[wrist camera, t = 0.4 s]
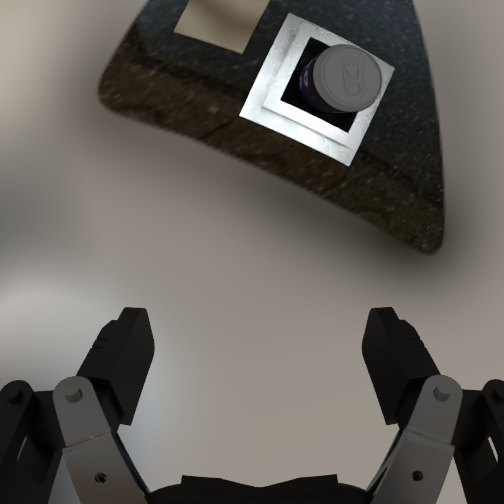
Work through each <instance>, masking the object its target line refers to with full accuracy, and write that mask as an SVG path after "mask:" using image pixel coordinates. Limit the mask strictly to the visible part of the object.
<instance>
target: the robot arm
mask: <svg viewBox="0 0 504 504" xmlns="http://www.w3.org/2000/svg"><path fill="white" fill-rule="evenodd" d="M154 348H155V347H154V339H153V335H152V330H151V326H150V322H149V317H148V313H147V310H146V309H145V308H131V307H125V308H124V309H123V311H122V313H121V314H120V316H119V318H118V320H111V321H110V322H109V323H108V324H107V325H105V326H104V327H103V328H102V330H101V331H100V333H99V335H98V336H97V340H95V342H94V343H93V346H92V348H91V349H90V350H89V352H88V354H87V356H86V358H85V360H84V361H83V363H82V365H81V367H80V369H79V371H78V373H77V375H76V376H73V377H68V378H66V379H64V380H62V381H61V382H60V383H58V385H57V386H56V387H55V389H54V390H52V391H38V392H34V391H33V390H32V388H31V386H30V385H29V384H28V383H27V382H25V381H22V380H16V381H12V382H10V383H8V384H7V385H5V386H4V387H3V389H2V390H1V391H0V504H48V501H49V497H50V493H51V490H52V486H53V483H54V479H55V476H56V473H57V470H58V467H59V463H60V460H61V457H62V454H63V456H64V459H65V462H66V465H67V468H68V471H69V474H70V476H71V479H72V482H73V485H74V487H75V490H76V492H77V495H78V497H79V500H80V502H81V504H436V502H437V499H438V497H439V494H440V491H441V489H442V486H443V483H444V480H445V478H446V475H447V472H448V469H449V466H450V463H451V460H452V457H454V460H455V463H456V466H457V469H458V473H459V476H460V480H461V483H462V486H463V490H464V494H465V497H466V501H467V504H504V381H502V380H498V379H494V380H490V381H488V382H487V383H486V384H485V386H484V387H483V389H482V390H481V391H479V390H464V389H461V387H460V385H459V384H458V383H457V382H456V381H455V380H454V379H452V378H450V377H448V376H444V375H441V374H440V372H439V370H438V368H437V367H436V365H435V363H434V361H433V359H432V358H431V356H430V354H429V352H428V350H427V349H426V347H424V343H423V342H422V340H420V337H419V335H418V333H417V332H416V330H415V328H414V327H413V326H411V325H410V324H409V323H408V322H406V321H405V320H399V318H398V316H397V315H396V313H395V311H394V309H393V308H392V307H384V308H372V309H371V310H370V312H369V316H368V320H367V324H366V329H365V333H364V337H363V341H362V354H363V358H364V361H365V364H366V366H367V369H368V372H369V375H370V378H371V380H372V383H373V386H374V389H375V392H376V395H377V398H378V401H379V404H380V407H381V410H382V413H383V416H384V419H385V422H386V425H391V424H397V423H398V426H399V431H398V432H397V434H396V436H395V439H394V441H393V443H392V445H391V447H390V449H389V451H388V453H387V455H386V457H385V459H384V461H383V463H382V464H381V466H380V468H379V470H378V472H377V473H376V475H375V477H374V478H373V480H372V482H371V483H370V484H369V486H368V488H367V489H366V490H364V489H361V488H359V487H355V486H352V485H348V484H343V483H338V480H337V474H333V475H325V476H314V477H301V478H296V479H293V480H289V481H286V482H282V483H278V484H274V485H270V486H265V487H254V486H249V485H245V484H240V483H236V482H232V481H228V480H225V479H221V478H208V477H196V476H185V475H182V479H181V484H176V485H171V486H167V487H164V488H160V489H158V490H155V491H153V492H150V490H149V489H148V487H147V486H146V484H145V483H144V481H143V479H142V478H141V476H140V475H139V473H138V471H137V469H136V468H135V466H134V464H133V462H132V460H131V458H130V456H129V454H128V453H127V451H126V449H125V447H124V445H123V443H122V441H121V439H120V437H119V435H118V433H117V431H118V428H119V425H120V424H124V425H130V426H131V423H132V420H133V417H134V414H135V411H136V407H137V404H138V401H139V398H140V395H141V392H142V389H143V386H144V383H145V380H146V377H147V374H148V371H149V368H150V365H151V362H152V359H153V356H154ZM489 437H491V439H492V442H493V444H494V447H495V449H496V452H497V455H498V462H497V461H496V458H495V456H494V453H493V450H492V448H491V445H490V443H489V440H488V438H489ZM24 438H26V442H25V445H24V447H23V449H22V452H21V455H20V457H19V459H18V462H17V456H18V453H19V451H20V448H21V446H22V443H23V441H24Z"/></svg>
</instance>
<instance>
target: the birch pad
mask: <svg viewBox="0 0 504 504" xmlns="http://www.w3.org/2000/svg"><path fill="white" fill-rule="evenodd" d="M269 2H270V0H190V1H189V3H188V5H187V6H186V8H185V10H184V12H183V14H182V16H181V18H180V20H179V22H178V24H177V26H176V28H175V30H174V33H177V34H181V35H184V36H188V37H191V38H194V39H198V40H201V41H204V42H207V43H210V44H213V45H216V46H219V47H222V48H225V49H228V50H231V51H234V52H236V53H239V54H243V52H244V50H245V48H246V46H247V44H248V42H249V40H250V38H251V36H252V34H253V32H254V30H255V28H256V26H257V24H258V22H259V21H260V19H261V17H262V15H263V13H264V11H265V9H266V7H267V5H268V4H269Z"/></svg>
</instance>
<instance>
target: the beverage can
mask: <svg viewBox="0 0 504 504" xmlns="http://www.w3.org/2000/svg"><path fill="white" fill-rule="evenodd" d="M382 85H383V76H382V71H381V68H380V66H379V64H378V63H377V61H376V60H375V59H374V58H373V56H372V55H370V54H369V53H368V52H366V51H365V50H363V49H361V48H358V47H355V46H352V45H347V44H338V45H333V46H330V47H328V48H326V49H325V50H323V51H322V52H321V53H320V54H318V55H317V56H316V57H315V58H314V59H313V60H311V61H310V62H309V63H308V64H307V65H306V66H305V67H303V68H302V69H301V70H300V72H299V73H298V75H297V77H296V79H295V92H296V95H297V98H298V99H299V101H300V102H301V103H302V104H303V105H304V106H305V107H306V108H308V109H309V110H311V111H314V112H318V113H355V112H360V111H363V110H365V109H367V108H368V107H370V106H371V105H372V104H373V103H374V102H375V101H376V99H377V98H378V96H379V94H380V92H381V89H382Z"/></svg>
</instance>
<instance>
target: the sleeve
mask: <svg viewBox="0 0 504 504" xmlns="http://www.w3.org/2000/svg"><path fill="white" fill-rule="evenodd" d="M338 44H347V45H352V46H355V47H358V46H357V45H355V44H353V43H351V42H349V41H347V40H345V39H344V38H342V37H340V36H338V35H336V34H334V33H332V32H330V31H328V30H326V29H324V28H322V27H319V26H317V25H315V24H313V23H311V22H309V21H306V20H304V19H302V18H300V17H297V16H295V15H293V14H290V13H289V14H288V16H287V18H286V20H285V22H284V23H283V25H282V27H281V29H280V31H279V33H278V35H277V37H276V39H275V41H274V43H273V45H272V47H271V49H270V51H269V53H268V55H267V57H266V59H265V62H264V64H263V66H262V68H261V70H260V72H259V74H258V76H257V78H256V80H255V83H254V85H253V87H252V89H251V91H250V93H249V96H248V98H247V100H246V102H245V104H244V106H243V109H242V111H241V113H240V115H239V116H242V117H244V118H246V119H249V120H251V121H254V122H256V123H258V124H261V125H263V126H266V127H268V128H270V129H272V130H275V131H277V132H279V133H281V134H284V135H286V136H288V137H290V138H293V139H295V140H297V141H299V142H301V143H303V144H305V145H307V146H310V147H312V148H314V149H316V150H318V151H320V152H322V153H324V154H326V155H328V156H330V157H332V158H334V159H336V160H338V161H340V162H342V163H344V164H346V165H348V166H349V165H350V163H351V161H352V159H353V157H354V155H355V153H356V151H357V149H358V147H359V145H360V143H361V141H362V139H363V136H364V134H365V132H366V130H367V128H368V126H369V124H370V122H371V120H372V118H373V115H374V113H375V111H376V109H377V107H378V105H379V102H380V100H381V98H382V96H383V94H384V92H385V89H386V87H387V85H388V83H389V81H390V78H391V76H392V74H393V72H394V69H395V68H393V67H392V66H390V65H389V64H387V63H385V62H384V61H382V60H381V59H379V58H377V57H376V56H374V55H372V54H371V53H369V52H368V53H369V54H370V55H372V56H373V58H374V59H375V60H376V61H377V63H378V64H379V66H380V68H381V71H382V76H383V85H382V89H381V92H380V94H379V96H378V98H377V99H376V101H375V102H374V103H373V104H372V105H371V106H370V107H368V108H367V109H365V110H363V111H360V112H355V113H343V115H342V118H341V120H340V122H339V124H338V126H337V127H335V126H333V125H331V124H329V123H327V122H325V121H323V120H321V119H319V118H317V117H315V116H313V115H311V114H309V113H307V112H305V111H303V110H300V109H298V108H296V107H294V106H292V105H290V104H287V103H285V102H283V101H281V100H280V98H281V96H282V94H283V92H284V90H285V88H286V86H287V84H288V81H289V79H290V77H291V75H292V73H293V71H294V69H295V67H296V65H297V63H298V61H299V59H300V57H301V54H302V52H303V50H304V48H306V49H308V50H310V51H313V52H315V53H317V54H320V53H321V52H322V51H323V50H325V49H326V48H328V47H330V46H333V45H338ZM358 48H360V47H358ZM361 49H362V48H361ZM363 50H364V49H363ZM366 52H367V51H366Z"/></svg>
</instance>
